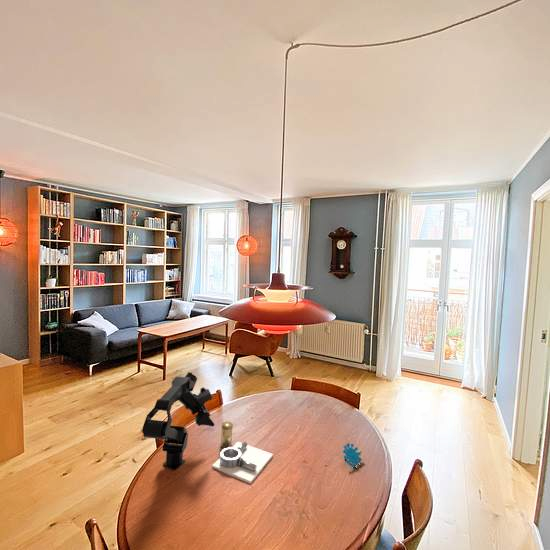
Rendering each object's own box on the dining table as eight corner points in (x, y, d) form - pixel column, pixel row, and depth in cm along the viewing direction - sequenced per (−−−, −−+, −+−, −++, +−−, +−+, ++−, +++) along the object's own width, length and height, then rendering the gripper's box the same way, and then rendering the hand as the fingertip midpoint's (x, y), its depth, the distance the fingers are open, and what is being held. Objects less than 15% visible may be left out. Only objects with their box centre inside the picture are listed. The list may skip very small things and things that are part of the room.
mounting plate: (250, 483, 123) (250, 481, 123) (212, 467, 131) (212, 465, 131) (273, 456, 141) (273, 454, 141) (237, 443, 149) (237, 441, 149)
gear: (350, 469, 134) (341, 443, 140) (341, 473, 137) (333, 448, 143) (367, 465, 140) (358, 441, 146) (358, 469, 143) (350, 445, 149)
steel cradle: (249, 478, 126) (250, 468, 125) (215, 464, 133) (216, 455, 132) (268, 456, 140) (268, 447, 140) (236, 444, 147) (237, 436, 147)
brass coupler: (227, 449, 144) (228, 428, 144) (218, 446, 146) (219, 425, 146) (233, 444, 149) (234, 423, 148) (224, 440, 151) (225, 420, 150)
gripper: (205, 394, 133) (230, 416, 138) (198, 377, 150) (219, 398, 155) (185, 414, 130) (210, 436, 135) (180, 395, 147) (202, 415, 152)
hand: (211, 420), depth 144 cm, fingers open, 9 cm apart
